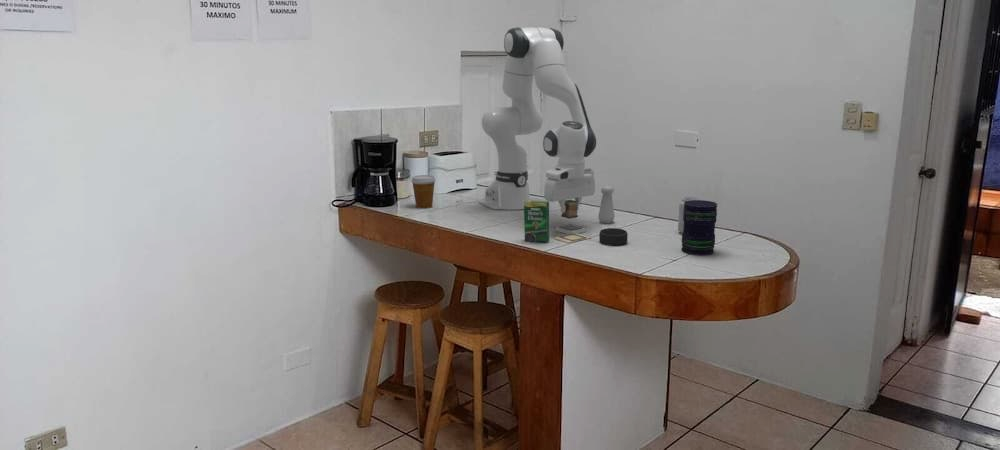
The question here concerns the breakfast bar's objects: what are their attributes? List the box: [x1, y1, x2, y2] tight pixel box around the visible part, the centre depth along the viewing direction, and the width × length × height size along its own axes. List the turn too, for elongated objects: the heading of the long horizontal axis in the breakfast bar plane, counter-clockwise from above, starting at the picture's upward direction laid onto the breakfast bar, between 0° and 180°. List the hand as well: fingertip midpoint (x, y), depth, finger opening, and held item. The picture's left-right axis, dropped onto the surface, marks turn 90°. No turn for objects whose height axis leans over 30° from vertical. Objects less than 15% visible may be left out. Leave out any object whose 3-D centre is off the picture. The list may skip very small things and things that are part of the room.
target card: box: [553, 233, 592, 244], centre depth 233 cm, size 7×10×1 cm
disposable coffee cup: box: [411, 174, 436, 209], centre depth 281 cm, size 10×10×12 cm
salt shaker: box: [598, 185, 616, 225], centre depth 254 cm, size 6×6×13 cm
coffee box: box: [523, 200, 550, 244], centre depth 229 cm, size 8×3×13 cm, turn 67°
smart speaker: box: [598, 227, 629, 246], centre depth 228 cm, size 9×9×4 cm
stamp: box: [560, 199, 579, 219], centre depth 241 cm, size 4×4×5 cm
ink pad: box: [556, 223, 586, 235], centre depth 242 cm, size 8×6×2 cm
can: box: [677, 196, 702, 235], centre depth 238 cm, size 8×8×12 cm
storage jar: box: [681, 199, 718, 256], centre depth 216 cm, size 10×10×15 cm
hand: (569, 211), depth 241 cm, fingers closed on stamp, 4 cm apart
